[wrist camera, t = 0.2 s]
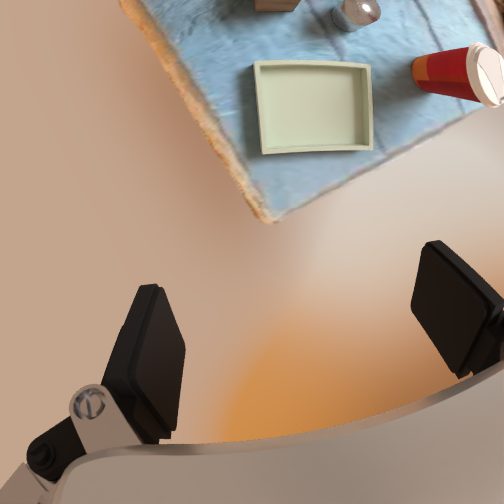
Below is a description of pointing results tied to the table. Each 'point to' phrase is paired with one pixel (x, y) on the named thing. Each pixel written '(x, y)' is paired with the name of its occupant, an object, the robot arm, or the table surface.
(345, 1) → the metal cylinder
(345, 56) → the table surface
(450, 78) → the coffee cup
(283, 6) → the walnut block
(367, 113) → the parts tray
